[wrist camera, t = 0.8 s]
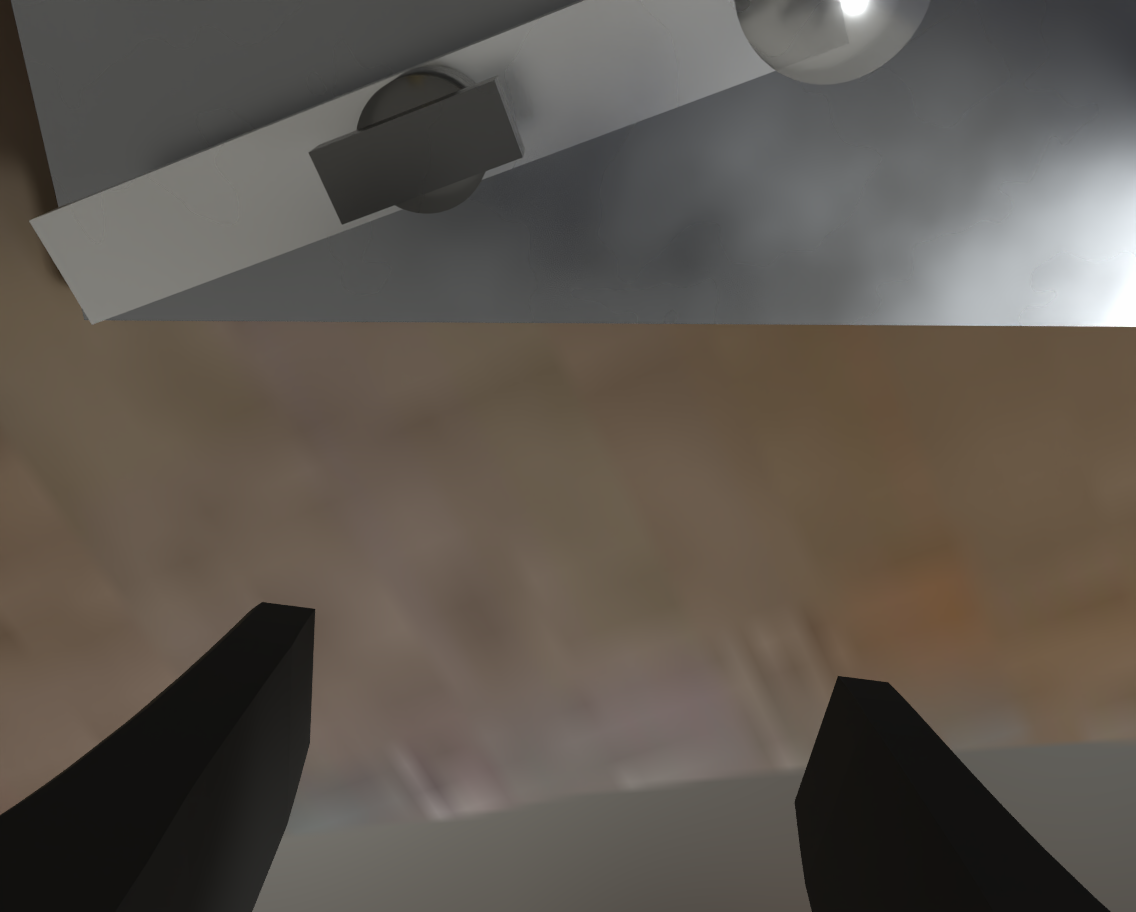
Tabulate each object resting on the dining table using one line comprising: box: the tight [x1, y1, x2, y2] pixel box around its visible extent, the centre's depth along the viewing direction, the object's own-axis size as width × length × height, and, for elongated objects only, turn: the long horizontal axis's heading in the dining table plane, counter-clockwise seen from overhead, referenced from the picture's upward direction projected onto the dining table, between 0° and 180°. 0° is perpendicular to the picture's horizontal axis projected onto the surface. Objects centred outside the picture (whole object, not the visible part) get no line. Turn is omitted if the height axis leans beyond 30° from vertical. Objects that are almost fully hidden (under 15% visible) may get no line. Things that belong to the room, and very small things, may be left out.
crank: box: [29, 0, 931, 325], centre depth 15 cm, size 14×3×5 cm, turn 110°
